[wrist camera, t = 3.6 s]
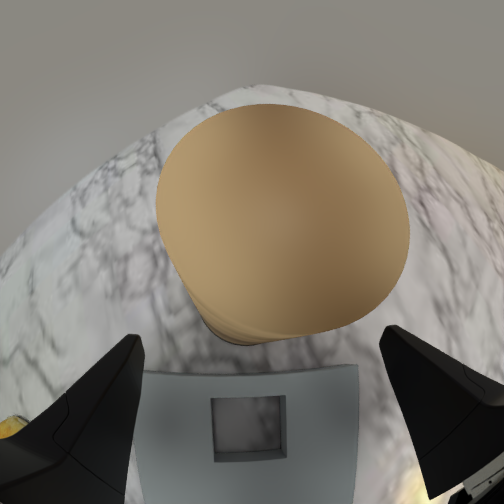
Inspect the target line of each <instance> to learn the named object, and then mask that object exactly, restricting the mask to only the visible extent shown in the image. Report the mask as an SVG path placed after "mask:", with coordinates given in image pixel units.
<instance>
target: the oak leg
mask: <svg viewBox="0 0 504 504" xmlns="http://www.w3.org/2000/svg"><path fill="white" fill-rule="evenodd" d="M156 214H157V222H158V226H159V231H160V235H161V238H162V240H163V243H164V245H165V248H166V250H167V253H168V255H169V257H170V259H171V261H172V263H173V265H174V267H175V269H176V271H177V272H178V274H179V276H180V278H181V280H182V282H183V284H184V286H185V288H186V289H187V291H188V293H189V295H190V297H191V299H192V300H193V302H194V304H195V306H196V308H197V309H198V311H199V313H200V315H201V317H202V320H203V321H204V323H205V324H206V326H207V327H208V328H209V330H210V331H211V332H212V333H214V334H215V335H216V336H217V337H219V338H220V339H222V340H224V341H226V342H228V343H231V344H235V345H240V346H251V345H257V344H261V343H267V342H273V341H279V340H285V339H290V338H296V337H301V336H306V335H311V334H316V333H321V332H326V331H330V330H333V329H337V328H340V327H343V326H346V325H348V324H350V323H352V322H354V321H357V320H359V319H361V318H362V317H364V316H365V315H367V314H368V313H370V312H371V311H372V310H374V309H375V308H376V307H377V306H378V305H379V304H380V303H381V302H382V301H383V300H384V299H385V298H386V297H387V296H388V295H389V293H390V292H391V291H392V289H393V288H394V286H395V285H396V283H397V281H398V279H399V277H400V275H401V273H402V271H403V268H404V265H405V262H406V259H407V255H408V249H409V239H410V227H409V218H408V212H407V208H406V204H405V201H404V198H403V195H402V192H401V190H400V187H399V185H398V183H397V181H396V179H395V177H394V176H393V174H392V172H391V171H390V169H389V168H388V166H387V165H386V163H385V162H384V161H383V160H382V158H381V157H380V156H379V155H378V154H377V153H376V151H375V150H374V149H373V148H372V147H371V146H370V145H369V144H368V143H366V142H365V141H364V140H363V139H362V138H361V137H360V136H358V135H357V134H355V133H354V132H353V131H351V130H350V129H348V128H347V127H345V126H343V125H342V124H340V123H338V122H337V121H335V120H333V119H330V118H328V117H326V116H324V115H321V114H319V113H316V112H313V111H310V110H306V109H303V108H299V107H293V106H287V105H277V104H257V105H249V106H242V107H238V108H234V109H230V110H227V111H224V112H222V113H219V114H216V115H214V116H212V117H210V118H208V119H206V120H205V121H203V122H202V123H200V124H199V125H197V126H196V127H194V128H193V129H192V130H191V131H190V132H188V133H187V134H186V135H185V136H184V137H183V138H182V139H181V140H180V141H179V143H178V144H177V145H176V146H175V147H174V149H173V150H172V152H171V153H170V155H169V157H168V158H167V160H166V162H165V165H164V167H163V169H162V171H161V175H160V178H159V182H158V186H157V195H156Z"/></svg>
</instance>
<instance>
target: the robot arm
mask: <svg viewBox="0 0 504 504" xmlns="http://www.w3.org/2000/svg"><path fill="white" fill-rule="evenodd" d="M379 347H380V351H381V354H382V357H383V360H384V364H385V367H386V371H387V374H388V377H389V380H390V383H391V385H392V388H393V390H394V393H395V395H396V398H397V400H398V403H399V406H400V408H401V411H402V414H403V417H404V419H405V422H406V425H407V428H408V431H409V434H410V436H411V439H412V442H413V445H414V449H415V452H416V455H417V458H418V460H419V461H418V462H419V465H420V468H421V472H422V475H423V479H424V482H425V486H426V490H427V494H428V497H429V500H432V499H433V498H435V497H437V496H439V495H441V494H443V493H445V492H446V491H448V490H450V489H451V488H453V487H455V486H456V485H458V484H460V483H461V482H462V483H463V485H464V487H463V488H461V489H460V490H459V491H457V492H456V493H454V494H453V495H451V496H450V499H449V502H448V504H504V385H502V384H500V383H498V382H496V381H494V380H492V379H490V378H488V377H486V376H484V375H482V374H480V373H478V372H476V371H474V370H473V369H471V368H469V367H467V366H466V365H464V364H462V363H461V362H459V361H457V360H456V359H454V358H452V357H450V356H449V355H447V354H445V353H444V352H442V351H440V350H439V349H437V348H435V347H433V346H432V345H430V344H428V343H427V342H425V341H423V340H421V339H420V338H418V337H416V336H415V335H413V334H411V333H409V332H408V331H406V330H404V329H402V328H401V327H399V326H397V325H389V326H387V327H386V328H385V329H384V332H383V334H382V337H381V339H380V341H379ZM144 360H145V352H144V348H143V344H142V341H141V337H140V336H139V335H138V334H128V335H126V336H125V337H124V338H123V339H122V340H121V341H120V342H119V343H117V344H116V345H115V346H114V347H113V348H112V349H111V350H110V351H109V352H108V353H107V354H105V355H104V356H103V357H102V358H101V359H100V360H99V361H98V362H97V363H96V364H95V365H94V366H92V367H91V368H90V369H89V370H88V371H87V372H86V373H85V374H84V375H83V376H82V377H81V378H80V379H79V380H78V381H76V382H75V383H74V384H73V385H72V386H71V387H70V388H69V389H68V390H67V391H66V393H64V394H63V395H62V396H61V397H59V398H58V399H57V400H56V401H55V402H54V403H53V404H52V405H51V406H50V407H49V408H47V409H46V410H45V411H44V412H42V413H41V414H40V415H39V416H37V417H36V418H35V419H33V420H32V421H31V422H30V423H28V424H27V425H26V426H24V427H23V428H22V429H20V430H19V431H18V432H16V433H15V434H13V435H11V436H9V437H6V438H1V439H0V504H124V500H125V489H126V481H127V473H128V466H129V459H130V452H131V446H132V440H133V434H134V428H135V423H136V418H137V412H138V407H139V402H140V397H141V389H142V379H143V369H144Z"/></svg>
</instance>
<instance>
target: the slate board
mask: <svg viewBox="0 0 504 504" xmlns="http://www.w3.org/2000/svg"><path fill="white" fill-rule="evenodd" d="M279 395H280V422H281V449H278V450H268V451H255V452H235V453H214V439H213V421H212V401H211V398H248V397H266V396H279ZM358 430H359V376H358V365H353V364H344V365H337V366H330V367H322V368H314V369H304V370H294V371H282V372H267V373H243V374H194V373H171V372H156V371H144V370H143V379H142V389H141V397H140V402H139V407H138V412H137V418H136V423H135V428H134V434H133V437H134V445H135V452H136V459H137V466H138V472H139V478H140V483H141V488H142V493H143V498H144V502H145V504H353V496H354V488H355V478H356V466H357V452H358Z"/></svg>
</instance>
